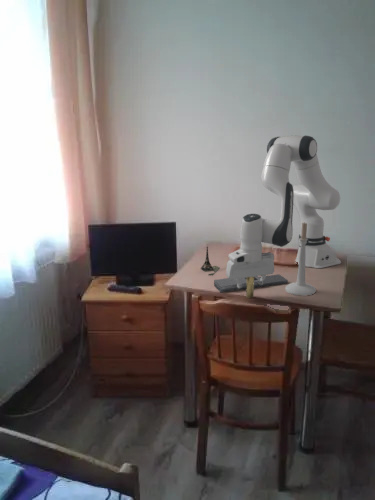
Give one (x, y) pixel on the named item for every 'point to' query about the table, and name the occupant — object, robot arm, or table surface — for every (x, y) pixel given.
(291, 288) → the candlestick
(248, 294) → the brass pin
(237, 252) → the robot arm
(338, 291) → the table surface
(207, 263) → the eiffel tower figurine
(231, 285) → the long grey slab
